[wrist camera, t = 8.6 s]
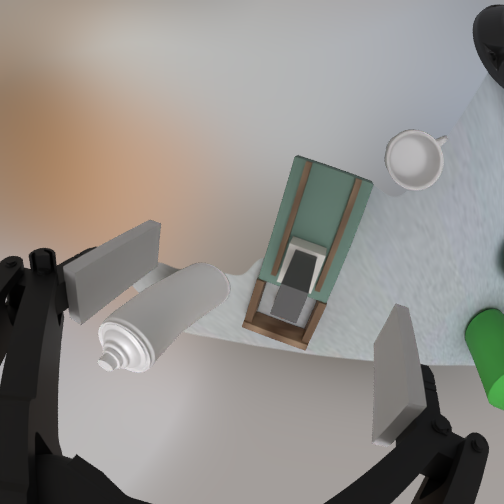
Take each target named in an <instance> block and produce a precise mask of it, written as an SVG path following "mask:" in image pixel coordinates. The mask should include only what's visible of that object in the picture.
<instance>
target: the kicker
mask: <svg viewBox="0 0 504 504" xmlns="http://www.w3.org/2000/svg"><path fill="white" fill-rule="evenodd" d="M326 251H327V248H325V247H322V246H320V245H317V244H314V243H311V242H308V241H306V240H303V239H300V238H297V237H294V236H293V238H292V240H291V242H290V244H289V247H288V250H287V253H286V256H285V259H284V262H283V265H282V268H281V271H280V274H279V277H278V280H277V282H279V283H281V285H280V288H279V290H278V293H277V296H276V299H275V302H274V305H273V307H272V310H271V313H270V314H272V315H275V316H277V317H280V318H283V319H286V320H288V321H291V322H294V323H296V322H297V320H298V317H299V315H300V313H301V310H302V308H303V306H304V303H305V301H306V298H307V296H308V293H310V294H311V292H312V289H313V287H314V284H315V282H316V279H317V277H318V275H319V272H320V269H321V267H322V264H323V262H324V259H325V257H326Z"/></svg>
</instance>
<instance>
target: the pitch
mask: <svg viewBox="0 0 504 504" xmlns="http://www.w3.org/2000/svg"><path fill="white" fill-rule="evenodd" d="M306 161H310V162H313V164H312V167H311V170H310V174H309V177H308V180H307V183H306V187H305V190H304V193H303V196H302V199H301V202H300V206H299V209H298V212H297V215H296V218H295V221H294V224H293V227H292V230H291V234H290V237H289V240H288V243H287V246H286V249H285V252H284V255H283V258H282V261H281V264H280V267H279V270H278V273H277V275H276V276H273V275H271V272H272V269H273V266H274V263H275V259H276V256H277V253H278V250H279V247H280V244H281V241H282V238H283V234H284V231H285V228H286V225H287V222H288V219H289V215H290V212H291V209H292V206H293V203H294V199H295V196H296V193H297V190H298V186H299V183H300V180H301V177H302V173H303V170H304V167H305V163H306ZM356 178H358V179H361V180H362V183H361V186H360V189H359V192H358V195H357V198H356V200H355V203H354V206H353V209H352V212H351V214H350V217H349V220H348V222H347V225H346V228H345V230H344V233H343V236H342V238H341V241H340V243H339V246H338V249H337V251H336V254H335V256H334V259H333V261H332V264H331V266H330V269H329V271H328V273H327V276H326V278H325V281H324V283H323V286H322V288H321V290H320V292H317V291H314V290H315V286H316V284H317V281H318V279H319V276H320V274H321V271H322V269H323V266H324V264H325V261H326V259H327V256H328V254H329V251H330V249H331V246H332V243H333V241H334V238H335V235H336V233H337V230H338V227H339V225H340V222H341V219H342V216H343V214H344V211H345V208H346V205H347V202H348V200H349V197H350V194H351V191H352V188H353V185H354V182H355V179H356ZM373 185H374V184H373V183H372V181H370V180H367V179H364V178H362V177H359V176H357V175H354V174H351V173H349V172H346V171H343V170H340V169H337V168H335V167H332V166H329V165H326V164H323V163H320V162H317V161H314V160H311V159H308V158H305V157H301V156H299V155H298V156H295V158H294V161H293V165H292V168H291V172H290V175H289V178H288V182H287V185H286V189H285V192H284V195H283V199H282V202H281V205H280V209H279V212H278V216H277V219H276V222H275V225H274V229H273V232H272V235H271V239H270V242H269V245H268V248H267V252H266V255H265V258H264V262H263V265H262V268H261V271H260V275H259V279H261V280H264V281H267V282H269V283H272V284H275V285H277V286H280V285H281V283H279V282H277V280H278V277H279V274H280V271H281V268H282V265H283V262H284V259H285V256H286V253H287V250H288V247H289V244H290V242H291V240H292V238H293V236H294V237H297V238H300V239H303V240H306V241H308V242H311V243H314V244H317V245H320V246H322V247H325V248H327V251H326V257H325V259H324V262H323V264H322V267H321V269H320V272H319V275H318V277H317V279H316V282H315V284H314V287H313V289H312V292H311V294H310V293H308V297H310V298H313V299H316V300H319V301H321V302H324V303H326V302H327V300H328V298H329V295H330V293H331V291H332V289H333V286H334V284H335V282H336V279H337V277H338V275H339V272H340V270H341V268H342V265H343V263H344V260H345V258H346V256H347V253H348V251H349V248H350V246H351V243H352V241H353V238H354V236H355V233H356V231H357V228H358V225H359V223H360V220H361V218H362V215H363V212H364V210H365V207H366V204H367V201H368V199H369V196H370V193H371V190H372V187H373Z"/></svg>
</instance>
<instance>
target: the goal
mask: <svg viewBox="0 0 504 504" xmlns="http://www.w3.org/2000/svg"><path fill="white" fill-rule="evenodd" d="M266 282H267V281H264V280H261V279H259V277H258V279H257V281H256V284H255V287H254V291H253V294H252V297H251V300H250V304H249V307H248V310H247V313H246V317H245V320H244V322H243V325H242V327H243V328H246V329H248V330H251V331H254V332H256V333H259V334H261V335H264V336H267V337H269V338H272V339H275V340H278V341H280V342H283V343H286V344H288V345H291V346H294V347H297V348H300V349H303V350H306V348H307V346H308V343H309V341H310V339H311V337H312V335H313V333H314V331H315V329H316V326H317V324H318V322H319V320H320V318H321V316H322V314H323V311H324V309H325V307H326V304H327V302H326V303H324V302H321V301H319V300H317V302H316V304H315V307H314V309H313V311H312V313H311V316H310V318H309V320H308V322H307V325H306V327H305V329H303V328H300V327H297V326H295V325H292V324H289V323H286V322H284V321H281V320H278V319H275V318H273V317H270V316H267V315H265V314H262V313H259V312H257V310H258V307H259V304H260V301H261V298H262V294H263V291H264V288H265V285H266Z"/></svg>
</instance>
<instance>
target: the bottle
mask: <svg viewBox="0 0 504 504" xmlns="http://www.w3.org/2000/svg"><path fill="white" fill-rule="evenodd" d="M465 340H466V343H467V345H468V348H469V350H470V353H471V355H472V358H473V360H474V363H475V365H476V368H477V370H478V373H479V376H480V378H481V381H482V383H483V386H484V389H485V392H486V395H487V398H488V401H489V403H490V404H491V405H493V406H494V407H497V408H499V409H502V410H504V315H503V314H502V313H501V311H499V310H496V309H490V310H486V311H484V312H482V313H480V314H478V315H477V316H476V317H475V318H474V319H473V320H472V321H471V323H470V324H469V325H468V328H467V330H466V333H465Z"/></svg>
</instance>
